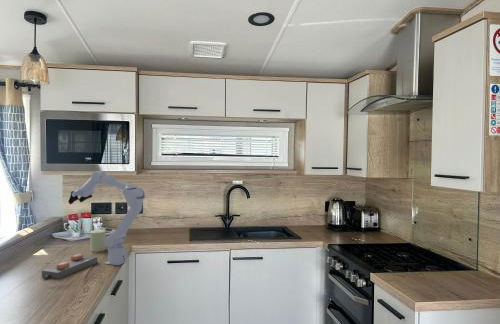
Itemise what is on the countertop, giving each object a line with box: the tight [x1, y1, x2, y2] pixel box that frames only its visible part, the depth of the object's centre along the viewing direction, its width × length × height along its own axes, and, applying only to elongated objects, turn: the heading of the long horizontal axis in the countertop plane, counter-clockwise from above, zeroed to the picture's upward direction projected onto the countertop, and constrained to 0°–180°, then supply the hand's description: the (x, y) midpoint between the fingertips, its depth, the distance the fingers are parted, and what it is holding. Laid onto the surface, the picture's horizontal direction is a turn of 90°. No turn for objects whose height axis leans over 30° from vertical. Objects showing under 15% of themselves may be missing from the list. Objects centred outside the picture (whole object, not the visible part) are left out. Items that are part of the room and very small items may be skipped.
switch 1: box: [56, 261, 70, 269], centre depth 172 cm, size 3×5×2 cm, turn 162°
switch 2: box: [70, 253, 84, 260], centre depth 185 cm, size 3×5×2 cm, turn 162°
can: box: [89, 229, 107, 253], centre depth 215 cm, size 9×9×12 cm
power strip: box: [41, 255, 98, 280], centre depth 177 cm, size 10×29×3 cm, turn 162°
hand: (74, 202), depth 197 cm, fingers open, 7 cm apart
